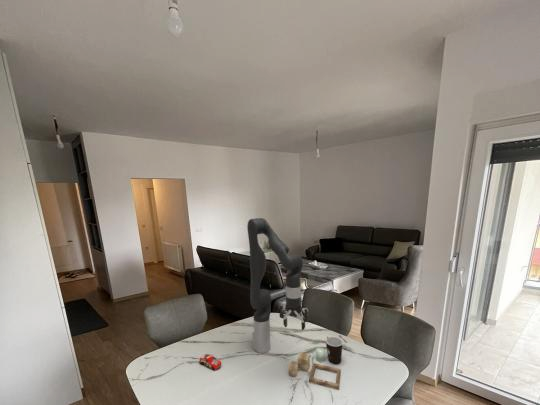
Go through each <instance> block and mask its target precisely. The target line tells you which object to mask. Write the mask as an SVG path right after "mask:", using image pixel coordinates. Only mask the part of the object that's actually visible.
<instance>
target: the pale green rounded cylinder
mask: <svg viewBox="0 0 540 405" xmlns="http://www.w3.org/2000/svg"><path fill="white" fill-rule="evenodd" d="M315 357H316V358H315V360H316V361H317V362H318V361H319V362H318V363H323V361H324V360H325V349H324V348H323V347H317V348H316V349H315ZM324 362H325V361H324Z"/></svg>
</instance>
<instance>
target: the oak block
mask: <svg viewBox="0 0 540 405" xmlns="http://www.w3.org/2000/svg"><path fill="white" fill-rule="evenodd" d="M310 359H311V358H310V354H309V353H306V352H299V353H298V356H297V371H301V372H305V373H309V369H310V366H311V365H310Z"/></svg>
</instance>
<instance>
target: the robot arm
mask: <svg viewBox="0 0 540 405" xmlns="http://www.w3.org/2000/svg"><path fill="white" fill-rule="evenodd" d="M246 227H247V235H248V236H247V237H248V242H249V243H248V244H249V266H250V267H249V268H250V290H249V292H250V293H249V299H250V305H251V307H252V308H253V310H256V311H255V312H254V313H253V332H252V350H253V351H255V352H256V353H258V354H265V353H268V352H269V351H271V324H270V316H271V309H272V308H271V306H272V305H271V304H272V300H271V299H272V298H271V295H270V292H269V291H268V290H267V289H265V288H263V289H261V288H260V287H261V283H262V279H263V277H264V276H265V273H266V269H267V257H266V254H265V252H264V251H263V249H262V247H261V245H260V244H259V240H258V239H259V238H258V235H262V234H263V235H264V236H266V237H267V239H268V240H267V241H268V246H269V248H270V249H271V250H272V252H273V253H274V254H275V255H276V256H277V257H278V260H279V262H280V264H281V266H282V267H283V269H285V270H287V271H289V272H288V273H287V274H286V275H285V305H284V304H283V303H282V304H280V306H279V318H280V319H283V327H284V328H287V327H288V317H289V316H290V317H296V318H298V319H299V320H300V321H301V323H300V324H301V325H300V326H301V331H304V330H305V329H306V323H308V322H309V319H310V316H309V315H310V314H309V308H308V307H303V306H302V288H301V275H302V271H303V270H302V269H303V267H304V266H303V264H304V261H303V256H302V255H301V254H300V253H298V252H297V253H296V252H295V253H291V254H289V253H290V248H289V247H288V246H287V244H286V243H285V242H284V241H282V239H281V238H280V237H279V235H278V234H276V232H275V230H274V229H273V228H272V226H271V224H270V223H269V222H268V221H267V219H265V218H262V217H258V218H251V219H249V220H248V221H247V226H246ZM284 311H286V313H285V314H284ZM303 314H304V315H303Z"/></svg>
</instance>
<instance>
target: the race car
mask: <svg viewBox="0 0 540 405" xmlns="http://www.w3.org/2000/svg"><path fill="white" fill-rule="evenodd" d="M199 364H200V365H201V366H203V367H205V368H208V369H211V370H212V371H216V370H219V369H220V368H221V367H222V361H221V360H219V359H218V358H217V357H216V356H214V355H212V354H208V353H206V354H203V355H201V356H200V358H199Z"/></svg>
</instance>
